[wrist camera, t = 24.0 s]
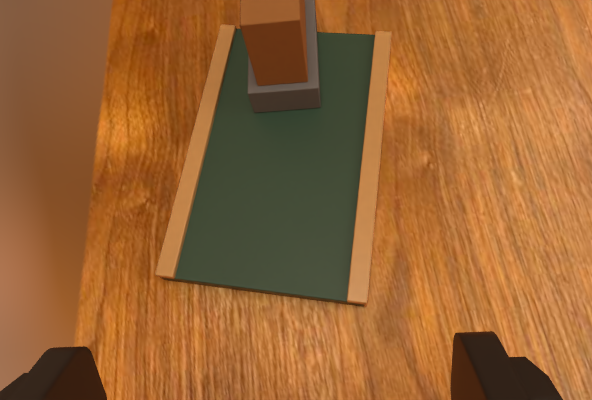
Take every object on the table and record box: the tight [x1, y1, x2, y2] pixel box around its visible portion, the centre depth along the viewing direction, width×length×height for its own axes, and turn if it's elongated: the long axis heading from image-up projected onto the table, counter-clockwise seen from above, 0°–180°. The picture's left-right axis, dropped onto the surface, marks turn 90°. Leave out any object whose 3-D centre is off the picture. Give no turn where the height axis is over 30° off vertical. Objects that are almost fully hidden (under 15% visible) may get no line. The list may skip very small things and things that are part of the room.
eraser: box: [240, 0, 321, 113], centre depth 29 cm, size 8×5×8 cm, turn 1°
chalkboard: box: [155, 25, 392, 307], centre depth 31 cm, size 13×20×1 cm, turn 172°
